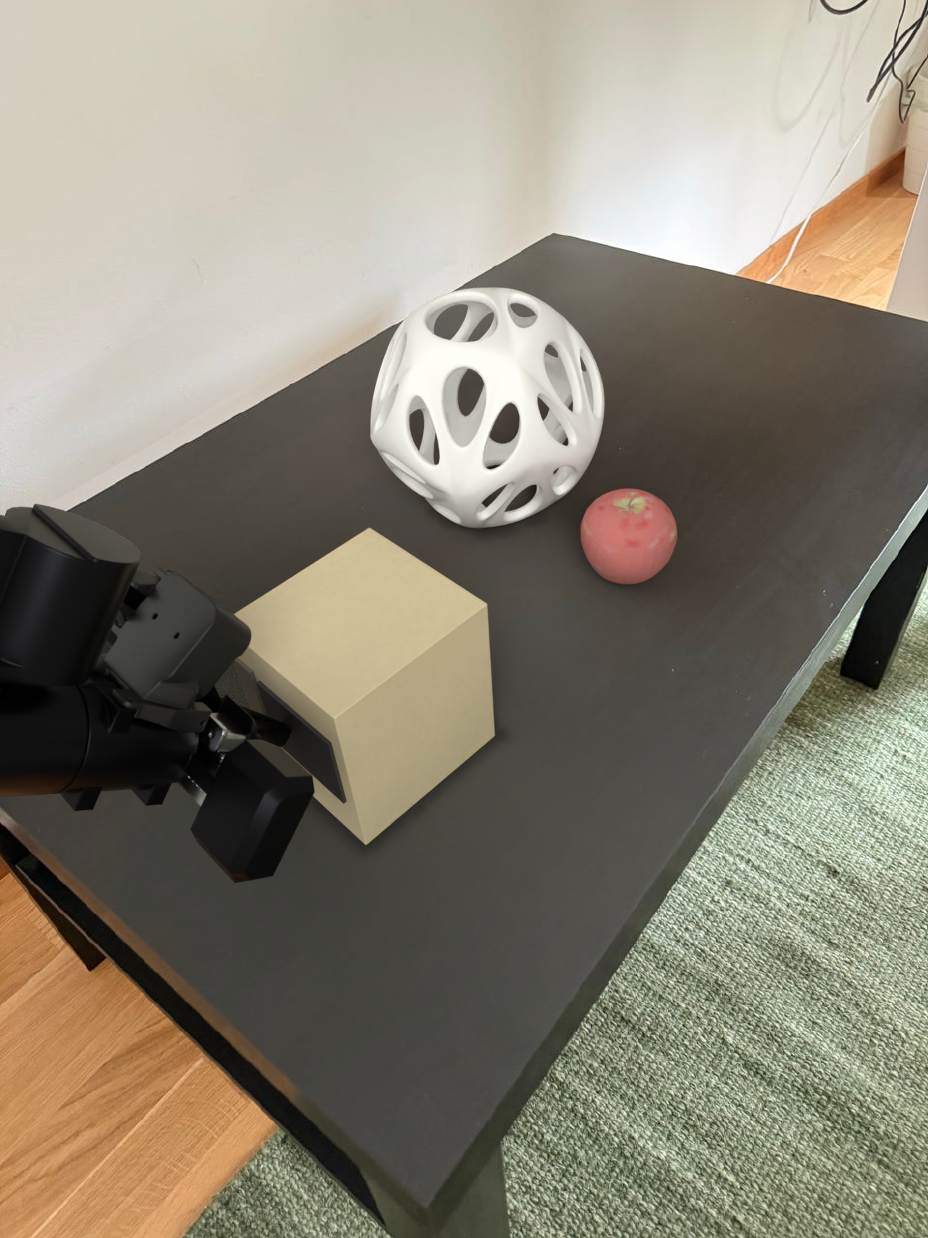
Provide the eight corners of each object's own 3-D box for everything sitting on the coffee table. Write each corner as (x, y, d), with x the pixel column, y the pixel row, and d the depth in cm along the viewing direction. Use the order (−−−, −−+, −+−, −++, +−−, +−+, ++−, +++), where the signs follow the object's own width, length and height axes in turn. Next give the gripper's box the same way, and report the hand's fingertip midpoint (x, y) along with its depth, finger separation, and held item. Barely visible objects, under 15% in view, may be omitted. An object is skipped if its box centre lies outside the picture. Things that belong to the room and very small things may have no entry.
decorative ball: (384, 577, 78) (354, 394, 65) (377, 442, 92) (351, 271, 79) (621, 551, 78) (635, 365, 66) (578, 421, 92) (583, 247, 80)
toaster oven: (363, 848, 59) (330, 721, 50) (262, 753, 65) (216, 624, 56) (495, 736, 65) (487, 603, 56) (391, 658, 71) (369, 527, 62)
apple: (628, 531, 80) (634, 454, 74) (689, 577, 75) (701, 498, 70) (560, 567, 77) (562, 490, 71) (619, 616, 73) (626, 538, 67)
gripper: (232, 688, 38) (449, 700, 51) (24, 502, 48) (250, 551, 61) (129, 911, 40) (362, 868, 53) (-50, 688, 50) (183, 698, 63)
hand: (285, 733), depth 57 cm, fingers closed, pressing on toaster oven
